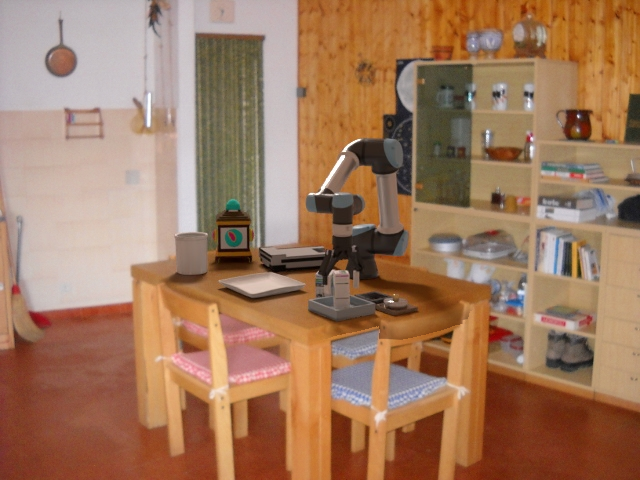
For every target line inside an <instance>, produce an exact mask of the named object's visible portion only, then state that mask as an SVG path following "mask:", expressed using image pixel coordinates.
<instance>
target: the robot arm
mask: <svg viewBox="0 0 640 480" xmlns="http://www.w3.org/2000/svg"><path fill="white" fill-rule="evenodd" d="M336 160H337V161H336V163H335V164H334V166H333V167H332V169H331V170H330V172H329V173H328V175H327V177H326V178H325V180H324V181H323V182H322V184H321V186H320V187H319V188H318V191H317V192H310V193H308V194H307V195H306V197H305V207H306V210H307V211H308V212H310V213H316V214H327V215H328V214H329V215H330V214H331V215H332V222H331V223H332V224H331V225H332V226H331V227H332V228H331V230H332V231H331V234H332V237H331V244H332V249H329V248H325V256H324V259H323V261H322V264H321V266H320V269H318V271H317V272H318V274H319V275H322V276H323V285H324V293H326V294H330V276H328V275H329V274H330V272H331V271H332V270H334V268H335V266H336V264H337V263H338V262H339V261H345V260H347V264H346V267H345V269H344V270H347V271H348V272H349V274H350V279H352V288H353V289H356V290H359V289H360V280H371V279H376V278H378V277H379V269H378V266H377V262H376V257H375V256H376V255H380V256H389V257H390V256H391V257H402V256H404V255H405V253H407V249H408V246H409V239H410V232H409V231H408V230H406V229H404V228H405V226H404V224H403V223H402V222H400V220H401V219H400V209H399V196H398V194H399V193H398V183H397V172H399V170H400V168H401V167H402V166H403V163H404V151H403V147H402V144H401V143H400V141H399V140H398V139H395V138H388V137H386V138H378V137H377V138H373V137H370V138H369V137H362V138H358V139H356V140H353V141H352V142H350V143H348V144H347V145H345V147H344V148H343V149H342V150H341V151H340V152H339V153H338V155H337V159H336ZM359 167H371V173H372V174H373V175H375V183H376V194H377V195H376V196H377V205H378V214H379V215H378V217H379V224H378V225H377V226H376V224H375V223H364V224H357V225H354V226H353V223H354V222H353V221H354V216H356V215H359V214H360V213H362V212H363V211H364V210H365V207H366V201H365V199H364V197H363V196H362V195H361V194H353V193H351V192H341V191H342V189H343V188H344V186H345V184H346V182H348V180H349V178H350V176H351V175H352V173H353V172H354V171H356V170H357V169H358V168H359ZM332 253H333V254H332ZM332 255H333V256H332ZM331 256H332V257H331ZM330 259H331V260H330Z"/></svg>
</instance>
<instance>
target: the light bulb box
mask: <svg viewBox="0 0 640 480" xmlns="http://www.w3.org/2000/svg"><path fill="white" fill-rule="evenodd" d="M333 271H336V269H332V271H331V272H330V274H329V275H328V276H330V294H326V293H324V285H323V276H322V275H319V274H318V271H317V272H316V273H315V276H314V277H315V279H314V280H315V281H314V282H315V289H314V291H315V292H314V293H315V294H314V295H315V297H314V299H316V298H322V297H328V296H333Z"/></svg>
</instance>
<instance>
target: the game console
mask: <svg viewBox="0 0 640 480" xmlns="http://www.w3.org/2000/svg"><path fill="white" fill-rule="evenodd" d="M325 250H326V248H325V247H324V246H323V245H314V246H313V245H312V246H297V247H284V248H282V247H281V248H277V247H274V246H264V247H263V246H261V247H260V246H259V247H258V257H259V258H260V259H259V260H260V262H262V263H263V265H265V266H267V267H268V268H270V269H272V271H274V272H275V273H279V272H280V273H281V272H283V273H284V272H294V271H306V270H307V271H308V270H319V269H320V266H321V264H322V261H323V259H324V256H325ZM332 254H333V253H332ZM332 256H333V255H332ZM332 256H331V257H332ZM330 260H331V259H330Z"/></svg>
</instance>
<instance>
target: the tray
mask: <svg viewBox="0 0 640 480" xmlns="http://www.w3.org/2000/svg"><path fill="white" fill-rule="evenodd" d="M333 298H334V297H333V296H328V297H322V298H316V299H315V298H311V299H308V300H307V310H308V311H309V312H311V313H315V314H316V315H319V316H321V315H322V316H321V317H324V318H326V317H327V318H326V319H329V320H331V319H332V321H334V322H342V321H346V319H347V320H350V318H352V319H356V318H355V317H357V318H361V317H360V316H362V317H366V316H372V315H376V309H375V303H373V302H370V301H367V300H364V299H361V298H358V297H355V296H354V295H352V294H350V307H349V308H344V309H339V310H336V309H334V300H333Z"/></svg>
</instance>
